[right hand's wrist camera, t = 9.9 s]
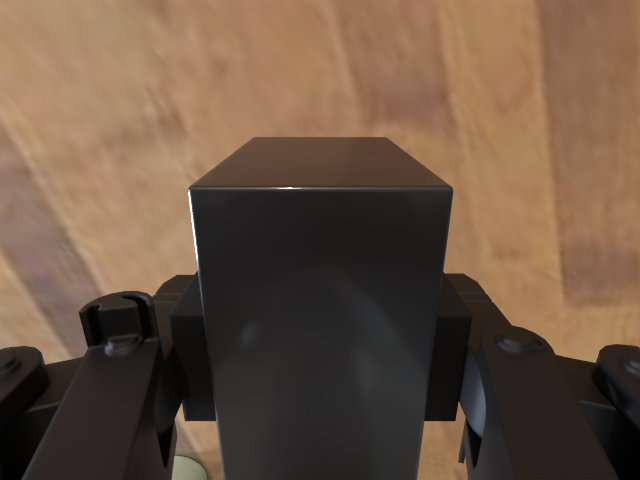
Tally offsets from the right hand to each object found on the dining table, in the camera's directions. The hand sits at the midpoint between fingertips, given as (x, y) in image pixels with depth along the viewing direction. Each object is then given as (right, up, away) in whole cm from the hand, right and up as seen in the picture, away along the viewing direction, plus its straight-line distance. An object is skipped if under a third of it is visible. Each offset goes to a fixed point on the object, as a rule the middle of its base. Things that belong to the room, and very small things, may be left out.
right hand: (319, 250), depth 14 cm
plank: (0, -8, +4) cm, 9 cm away
